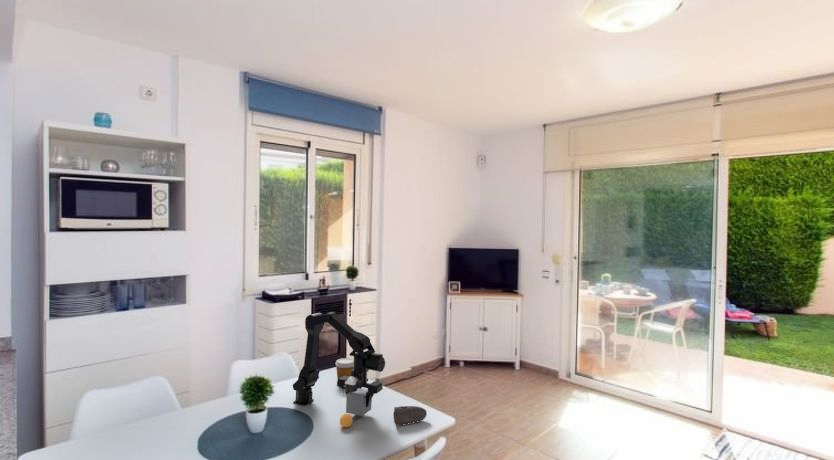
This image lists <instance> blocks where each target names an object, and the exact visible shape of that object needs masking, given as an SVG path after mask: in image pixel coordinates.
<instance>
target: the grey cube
mask: <svg viewBox="0 0 834 460" xmlns="http://www.w3.org/2000/svg"><path fill="white" fill-rule="evenodd" d="M367 391H368V388H363V387H362V388H361V389H359V388H358V389H357V391H355V392H352V391H350V392H348V393H347V394H346V402H345V403H346V404H345V406H346V407H345V414H350V415H355V416H359V417H364V416H365V415H366V414H367V413H368V412H370V411H371V410H372V401H373V398H372V399H371V402H370V404H369V406H368V407H366V400H367V395H366V392H367Z"/></svg>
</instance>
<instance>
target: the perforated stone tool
mask: <svg viewBox="0 0 834 460" xmlns="http://www.w3.org/2000/svg"><path fill="white" fill-rule="evenodd" d="M427 413H428V412H427V410H426V409H425V408H423V407H421V406H415V405H405V406H402V405H401V406H395V407H394V409H393V422H394V424H395V426H404V425H403V424H408V423H413V422H417V421H420V420H422V421H423V420H425V418H426V417H427ZM420 422H421V421H420ZM417 423H418V422H417ZM413 424H414V423H413ZM408 425H409V424H408Z"/></svg>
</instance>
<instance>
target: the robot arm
mask: <svg viewBox="0 0 834 460" xmlns="http://www.w3.org/2000/svg"><path fill="white" fill-rule="evenodd" d="M304 322H305V323H304V324H305V325H304V328H305V330H306V332H307V337H306V346H305V354H304V362H303V366H302V367H301V370H300V371H299V375H298V378H297V380H296V381H295V382H294V383H293V384H292V389H293V390H294V391H295V400H294V401H293V404H297V405H301V406H307V405H308V404H310V403H312V402H314V398H313V387H315V385H316V383H317V382H318V380H319V379H320V377H319V374H320V372H321V370H320V369H317V366H316V365H317V364H316V361H317V356H318V355H317V354H318V348H319V347H318V346H319V338H320V333H321V332H322V330H323V328H324V326H325V324H326V323H327V324H328V325H330V326H331V328H333V329H335V331H337V332H338V333H339V334H340V335H341V336H342V337H343V338H345V339H346V341H347V343H348V345H349V346H350V348H351V349H352V351H350V353H349V356H351V357H353V360H354V364H353V370H352V372H351V376H350V377H349V376H343V377H341V378H339V379H338V380H337V381H336V386H337V387H340V389H342V390H343V391H344V392H345V394H346V395H347V393H348V392H350V391H352V392H355V391H357V389H358V388H359V389H361V388H362V389H367V390H368V391H367V392H366V395H367V400H366V407H368V406H369V404H370V402H371V399H372V400H373V397H374V395H376V394H378V393H380V392H381V391H382V390H383V388H384V387H383V383H382V382H380V381H372V382H370V383H369V378H368V372H369V371H373V372H379V373H381V372H383V371H384V370H385V367H386V360H385V357H383V356H384V355H383V353H376V350H375V347H374V346H373V345H372V343H371V339H370V337H368V336H367V335H366V334H364V333H362V332H359V331H357V330H355V329H354V328H352V327H351V325H349V324H348V323H347V322H345V320H343V319H342V318H341V317H340V316H338V314H337V312H334V311H331V312H327V313H321V312H316V313H313V314H309V315H307V316H306V317H305V320H304Z"/></svg>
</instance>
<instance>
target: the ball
mask: <svg viewBox="0 0 834 460" xmlns="http://www.w3.org/2000/svg"><path fill="white" fill-rule="evenodd" d="M339 424H340V426H341V427H342V428H346V429H347V428H349V427H351V426H352V424H353V416H352V414H350V413H344V414H342V415H341V416H340V419H339Z"/></svg>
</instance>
